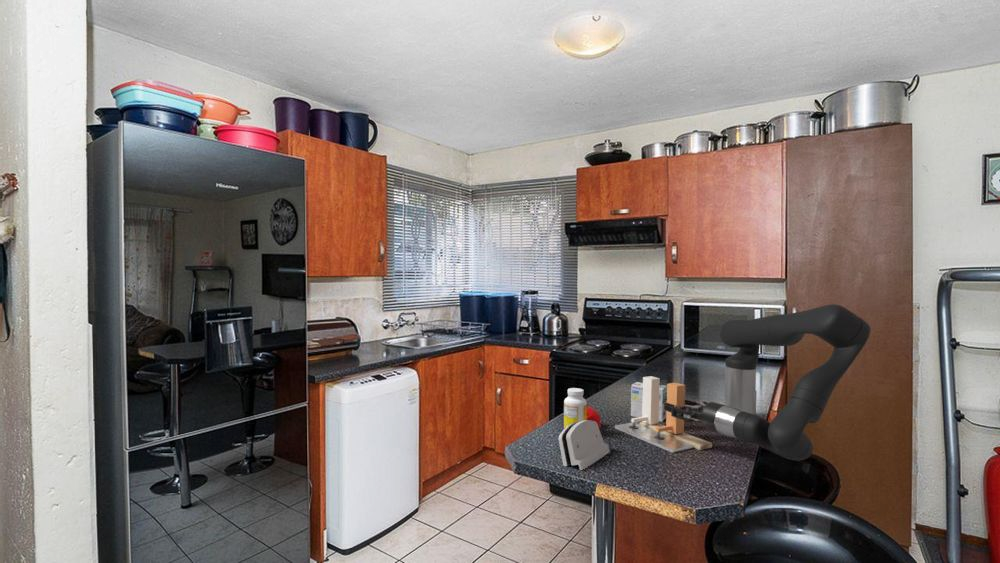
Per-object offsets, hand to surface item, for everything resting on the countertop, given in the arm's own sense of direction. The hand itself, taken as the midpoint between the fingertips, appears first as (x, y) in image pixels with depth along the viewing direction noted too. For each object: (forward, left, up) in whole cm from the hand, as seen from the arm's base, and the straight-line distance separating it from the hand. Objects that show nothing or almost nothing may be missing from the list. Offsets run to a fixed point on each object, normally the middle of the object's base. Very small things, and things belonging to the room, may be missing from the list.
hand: (674, 404), depth 135 cm
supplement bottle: (+25, -15, -10) cm, 31 cm away
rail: (0, 0, -9) cm, 10 cm away
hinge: (+35, 0, -10) cm, 36 cm away
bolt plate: (+7, -2, -9) cm, 12 cm away
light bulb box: (-8, -17, -10) cm, 21 cm away
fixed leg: (+3, -9, -8) cm, 13 cm away
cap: (+17, -18, -10) cm, 27 cm away
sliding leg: (+3, 0, -8) cm, 9 cm away
